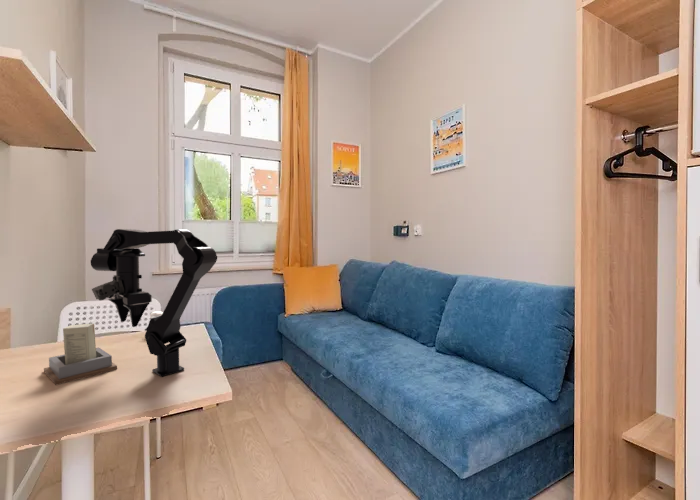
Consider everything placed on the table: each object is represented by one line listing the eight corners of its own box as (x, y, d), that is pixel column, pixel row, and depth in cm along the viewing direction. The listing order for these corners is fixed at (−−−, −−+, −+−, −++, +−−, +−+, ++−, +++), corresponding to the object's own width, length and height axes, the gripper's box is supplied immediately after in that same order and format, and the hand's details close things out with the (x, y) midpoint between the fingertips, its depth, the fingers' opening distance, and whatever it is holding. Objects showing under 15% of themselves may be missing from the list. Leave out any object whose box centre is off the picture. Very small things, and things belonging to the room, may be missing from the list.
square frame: (111, 365, 101) (111, 355, 101) (59, 379, 91) (58, 367, 91) (99, 356, 108) (98, 347, 108) (49, 367, 99) (48, 357, 99)
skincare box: (97, 363, 103) (96, 322, 102) (90, 368, 98) (89, 326, 98) (71, 365, 101) (70, 324, 101) (63, 370, 97) (62, 328, 96)
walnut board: (117, 369, 101) (117, 365, 101) (55, 384, 90) (55, 381, 90) (101, 358, 110) (101, 355, 110) (44, 371, 99) (43, 368, 99)
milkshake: (163, 335, 135) (163, 310, 135) (148, 335, 134) (148, 310, 134) (167, 332, 140) (167, 307, 139) (153, 332, 139) (153, 308, 138)
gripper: (85, 271, 101) (86, 324, 102) (105, 276, 89) (107, 335, 90) (127, 268, 110) (128, 317, 110) (151, 273, 98) (152, 327, 99)
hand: (128, 323), depth 102 cm, fingers open, 9 cm apart
